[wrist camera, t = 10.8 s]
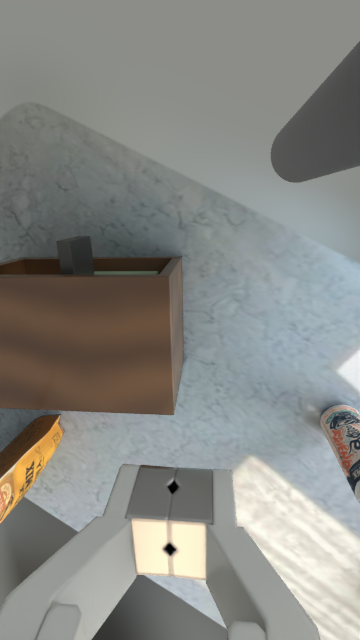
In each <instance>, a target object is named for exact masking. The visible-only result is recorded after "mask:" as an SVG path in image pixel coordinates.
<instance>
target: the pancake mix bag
mask: <svg viewBox="0 0 360 640" xmlns="http://www.w3.org/2000/svg"><path fill="white" fill-rule="evenodd" d="M60 415H61V414H60ZM60 415H48V416H41V417H39V418H38V419H36V420H34V421H33V422H32V423H31V424H30V425H29V426H28V427H27V428H25V429H24V430H23V431H22V432H21V433H20V434H19V435H18V436H17V437H16V438H15V439H14V440H13V441H12V442H11V443H10V444H9V445H8V446H7V447H6V448H5V449H4V450H3V451H2V452H1V453H0V523H1V522H2V521H3V520H4V519H5V518H6V516H7V515H8V514H9V513H10V512H11V510H12V509H13V508H14V507H15V506H16V505H17V504H18V502H19V501H20V500H21V499H22V498H23V496H24V495H25V494H26V493H27V491H28V490H29V489H30V487H31V486H32V485H33V483H34V482H35V481H36V479H37V478H38V476H39V475H40V473H41V472H42V470H43V469H44V467H45V466H46V464H47V463H48V461H49V460H50V458H51V456H52V454H53V453H54V451H55V450H56V448H57V447H58V445H59V442H60V440H61V438H62V435H63V433H64V430H63V428H62V427H61V425H60V424H59V423H58V422H59V419H60Z"/></svg>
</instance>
